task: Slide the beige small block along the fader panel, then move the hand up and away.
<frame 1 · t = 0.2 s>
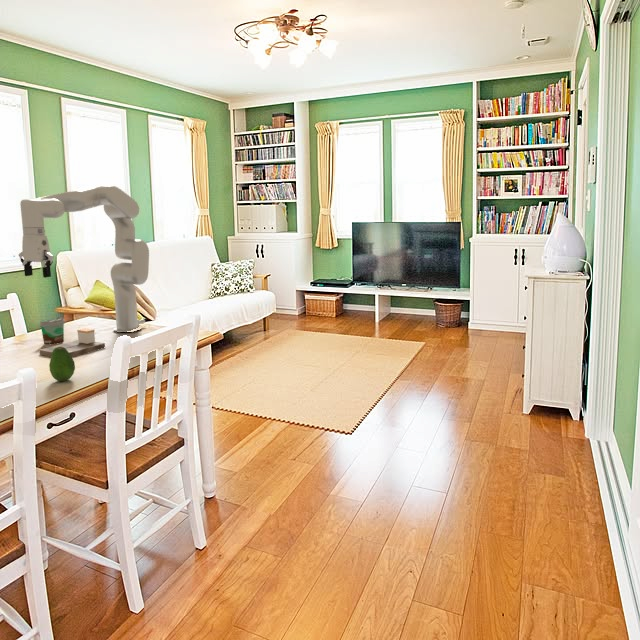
hand: (37, 276, 227), 31 cm above the table, tool pointing down, fingers open, 9 cm apart
food container: (57, 342, 249), on the table
beige small block: (86, 335, 240), point 5 cm above the table, slide at 0.0 cm
avocado: (63, 381, 197), on the table
fader panel: (73, 351, 235), on the table
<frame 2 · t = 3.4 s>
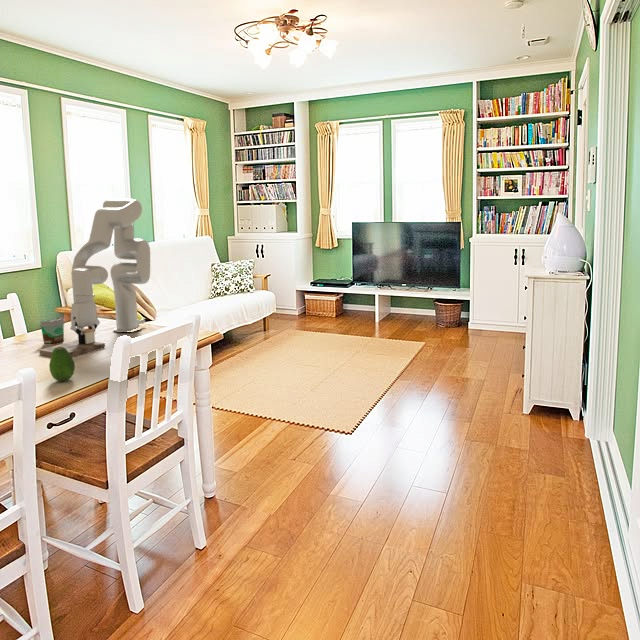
hand: (86, 342, 240), 2 cm above the table, tool pointing down, fingers closed on beige small block, 4 cm apart
beige small block: (86, 335, 240), point 5 cm above the table, slide at 0.0 cm, touching gripper
everything else where it was.
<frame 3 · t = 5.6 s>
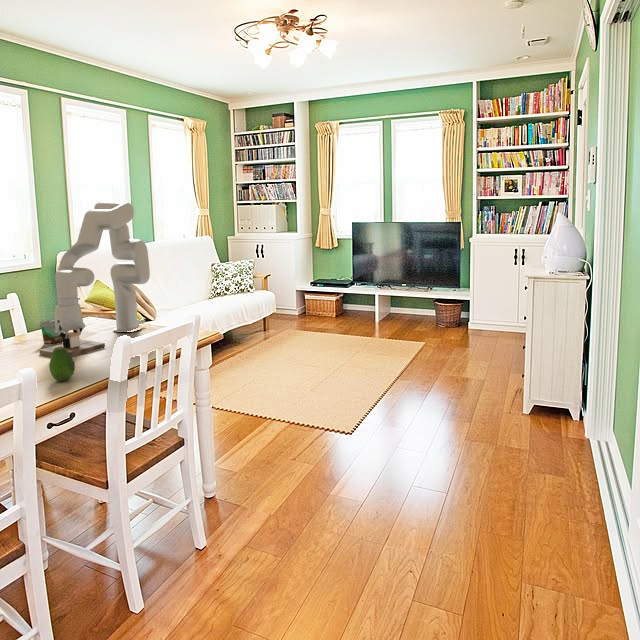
hand: (71, 345, 234), 2 cm above the table, tool pointing down, fingers closed on beige small block, 4 cm apart
beige small block: (71, 339, 233), point 5 cm above the table, slide at 7.5 cm, touching gripper
everything else where it was.
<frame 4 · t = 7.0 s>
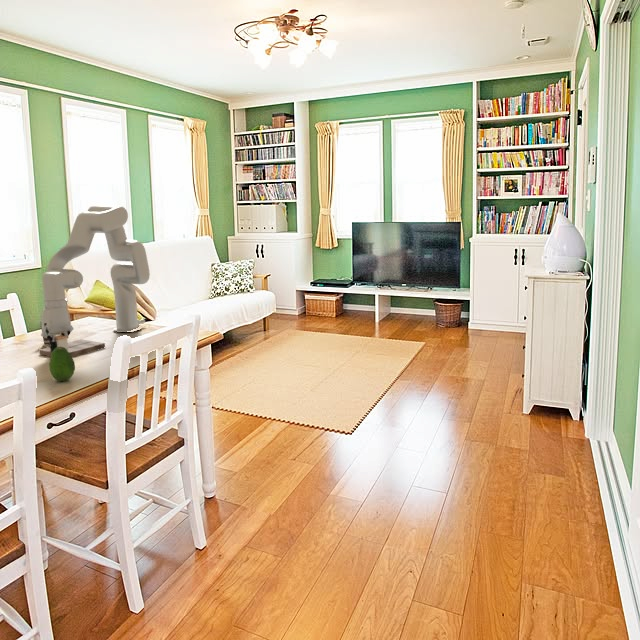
hand: (59, 349, 229), 2 cm above the table, tool pointing down, fingers closed on beige small block, 4 cm apart
beige small block: (58, 342, 228), point 5 cm above the table, slide at 13.4 cm, touching gripper
everything else where it was.
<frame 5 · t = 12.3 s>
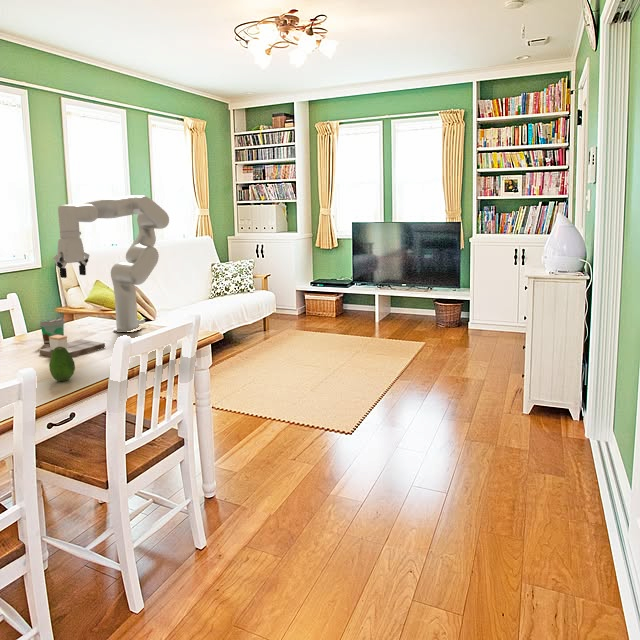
hand: (73, 276, 244), 28 cm above the table, tool pointing down, fingers open, 9 cm apart
beige small block: (58, 342, 228), point 5 cm above the table, slide at 13.5 cm
everything else where it was.
at the end: beige small block slide at 13.5 cm; the gripper is holding nothing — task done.
